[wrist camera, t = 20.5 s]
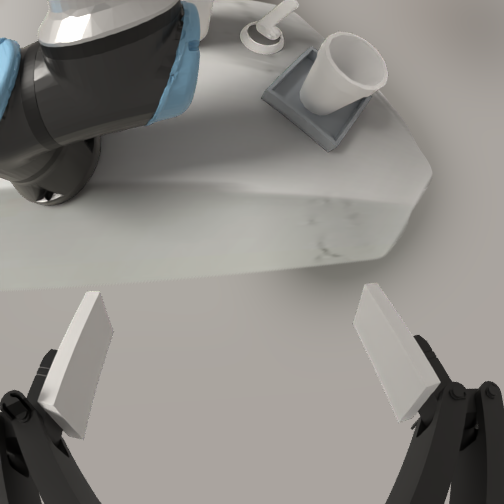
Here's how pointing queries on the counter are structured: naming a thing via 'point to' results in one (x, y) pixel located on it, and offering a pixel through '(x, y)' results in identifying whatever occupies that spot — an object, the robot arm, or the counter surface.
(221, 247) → the counter surface
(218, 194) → the counter surface
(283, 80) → the tray
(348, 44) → the foam cup
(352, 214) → the counter surface
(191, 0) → the alcohol
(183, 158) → the counter surface
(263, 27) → the hook
